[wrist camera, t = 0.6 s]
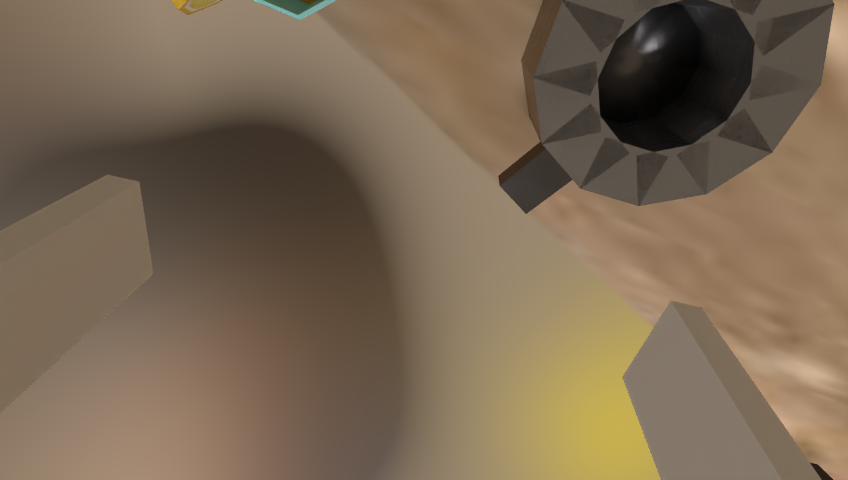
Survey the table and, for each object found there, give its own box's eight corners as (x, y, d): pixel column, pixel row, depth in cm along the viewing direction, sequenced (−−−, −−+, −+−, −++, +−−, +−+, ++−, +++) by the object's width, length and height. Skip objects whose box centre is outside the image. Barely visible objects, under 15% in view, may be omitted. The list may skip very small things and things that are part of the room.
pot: (563, 228, 37) (580, 274, 31) (442, 96, 33) (436, 120, 27) (856, 23, 28) (961, 32, 22) (745, -198, 24) (837, -261, 18)
